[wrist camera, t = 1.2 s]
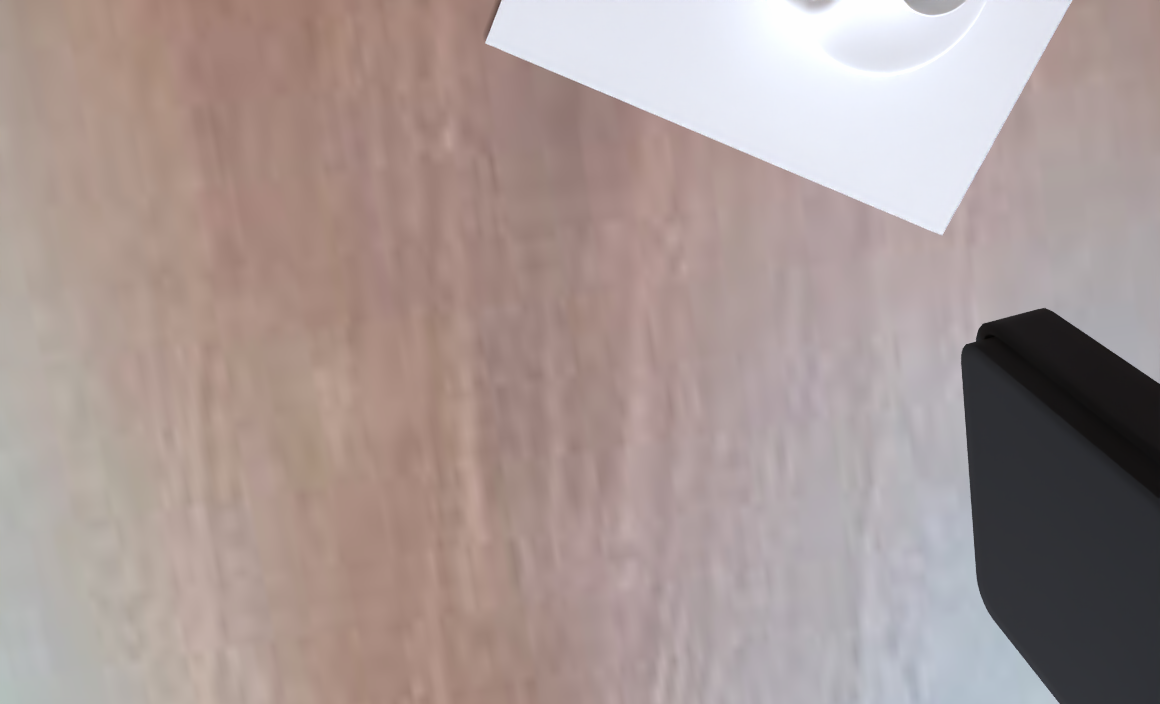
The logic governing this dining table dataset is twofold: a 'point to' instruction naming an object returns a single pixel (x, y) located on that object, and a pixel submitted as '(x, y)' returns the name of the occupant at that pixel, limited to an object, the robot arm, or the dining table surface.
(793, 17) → the teacup and saucer
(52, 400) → the dining table surface
